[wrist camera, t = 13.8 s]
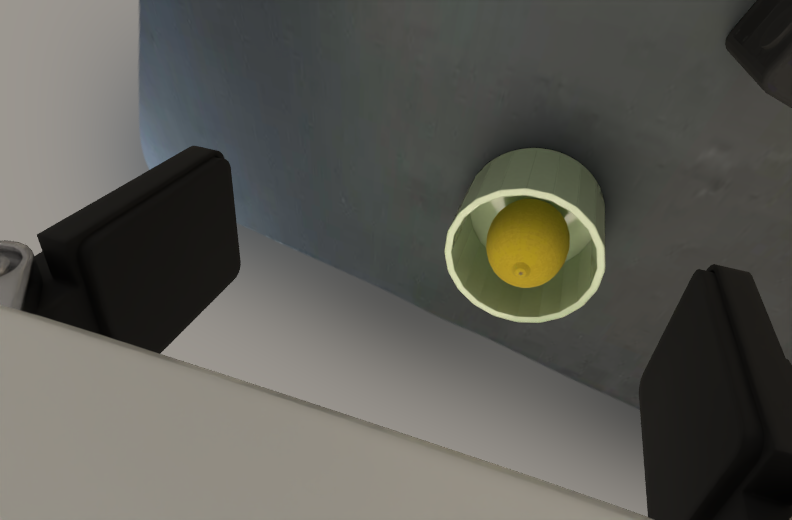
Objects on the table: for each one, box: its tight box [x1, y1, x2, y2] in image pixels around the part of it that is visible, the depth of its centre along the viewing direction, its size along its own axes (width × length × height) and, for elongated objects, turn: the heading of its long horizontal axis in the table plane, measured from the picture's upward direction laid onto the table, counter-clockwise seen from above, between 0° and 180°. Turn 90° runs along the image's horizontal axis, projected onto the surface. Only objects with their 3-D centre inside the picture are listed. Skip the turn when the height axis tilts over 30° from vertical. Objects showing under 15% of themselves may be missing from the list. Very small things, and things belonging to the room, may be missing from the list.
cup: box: [444, 148, 605, 323], centre depth 37 cm, size 10×10×7 cm
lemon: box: [486, 199, 570, 288], centre depth 36 cm, size 6×6×8 cm
